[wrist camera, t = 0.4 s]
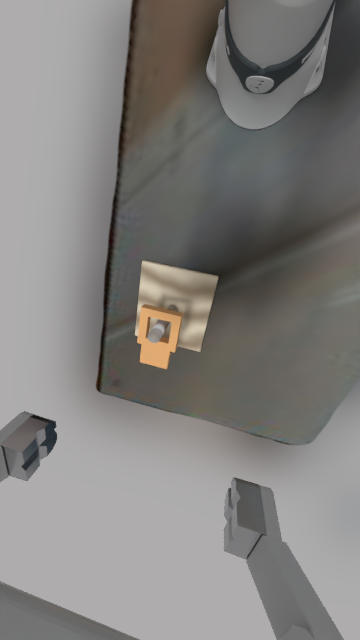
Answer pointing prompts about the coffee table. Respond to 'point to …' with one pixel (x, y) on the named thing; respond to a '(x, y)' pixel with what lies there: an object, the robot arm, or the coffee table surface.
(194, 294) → the pipe stand
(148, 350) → the collar
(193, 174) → the coffee table surface
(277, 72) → the robot arm
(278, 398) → the coffee table surface
